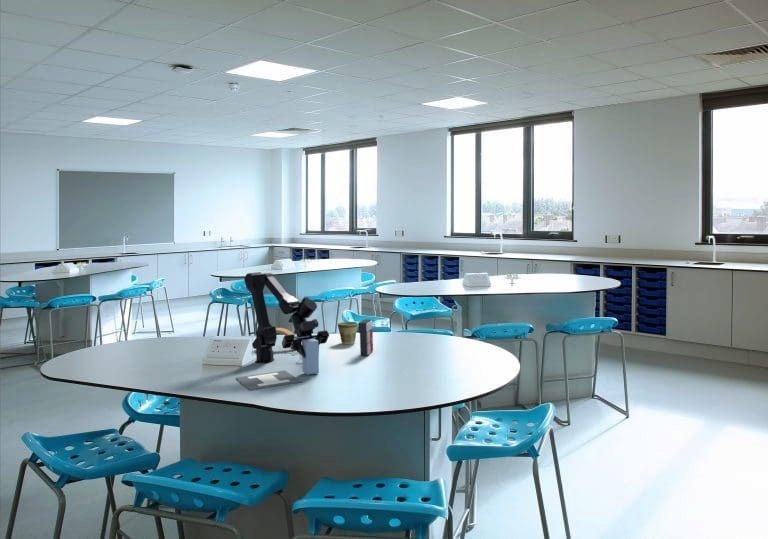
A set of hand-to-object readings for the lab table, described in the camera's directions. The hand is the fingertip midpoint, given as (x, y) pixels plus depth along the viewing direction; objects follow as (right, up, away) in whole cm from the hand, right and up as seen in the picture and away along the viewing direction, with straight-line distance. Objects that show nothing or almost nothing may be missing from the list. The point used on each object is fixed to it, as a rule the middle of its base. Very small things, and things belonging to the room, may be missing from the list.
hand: (311, 356), depth 237 cm
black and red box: (+21, -4, +36) cm, 42 cm away
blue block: (-1, -7, +2) cm, 7 cm away
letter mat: (-16, -8, -7) cm, 19 cm away
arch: (-22, -4, +52) cm, 57 cm away
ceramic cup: (+11, -2, +63) cm, 64 cm away
